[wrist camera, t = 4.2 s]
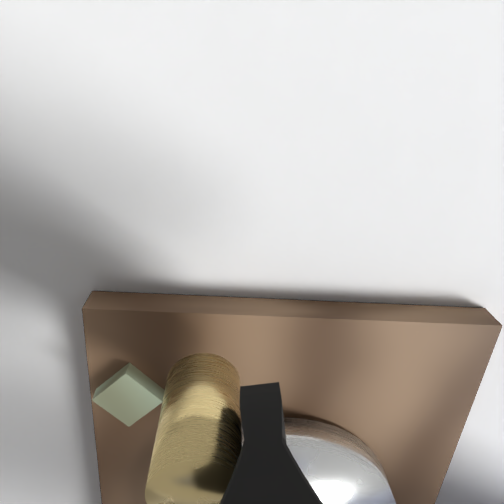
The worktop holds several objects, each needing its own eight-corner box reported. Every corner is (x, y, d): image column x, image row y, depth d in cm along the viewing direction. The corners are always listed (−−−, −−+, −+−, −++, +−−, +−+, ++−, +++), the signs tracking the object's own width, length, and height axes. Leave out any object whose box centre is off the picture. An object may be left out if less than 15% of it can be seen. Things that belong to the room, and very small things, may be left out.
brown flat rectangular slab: (484, 308, 17) (512, 335, 15) (385, 590, 25) (395, 627, 23) (92, 290, 16) (76, 318, 14) (119, 591, 24) (110, 631, 22)
